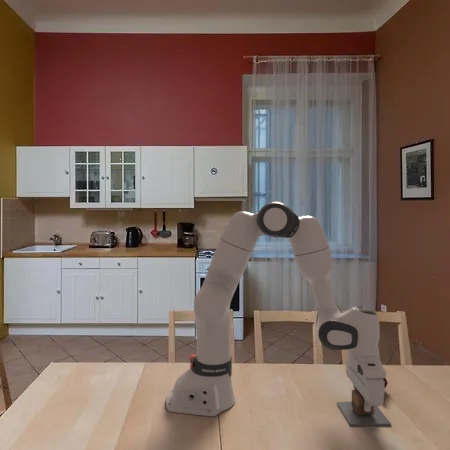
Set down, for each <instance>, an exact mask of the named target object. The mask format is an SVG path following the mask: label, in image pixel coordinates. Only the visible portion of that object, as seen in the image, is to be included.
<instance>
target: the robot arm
mask: <svg viewBox="0 0 450 450" xmlns="http://www.w3.org/2000/svg"><path fill="white" fill-rule="evenodd" d="M263 235H266V236H268V237H271V238H277V239H278V238H284V239H285V238H286V239H288V241H289V242H290V245H291V249H292V252H293V255H294V260H295V262H296V265H297V267H298V269H299V272H300V274H301V276H302V277H303V278H305V279H306V280H307V282H309V284H310V286H311V289H312V291H313V296H314V300H315V303H316V306H317V315H316V326H317V327H316V328H317V334H318V340H319V342H320V343H321V345H322V346H324V347H325V348H326V349H328V350H330V351H331V350H332V351H345V350H347V356H346V365H345V374H346V376H347V378H348V379H349V380H350V381H351V383H352V384H353V385H352V386H353V387H352V388H353V390H358V391H359V392H360V393H361V395H362V396H363V397H364V400H365V402H364V403H363V409H364V410H365V411H366V412H370V411H371V406H377V407H381V406H383V404H384V402H385V400H384V399H385V388H384V380H383V378H386V379H387V371H386V369H385V368H384V366H383V364H382V361H381V358H380V349H379V341H380V340H381V339H380V334H381V333H380V332H381V331H380V319H379V316H378V314H377V313H376V312H375V311H374V310H372V309H370V308H369V307H366V306H361V305H354V306H352V307H350V308H349V309H347V310H345V311H343V310H342V309H341V308H340V307H339V306H338V303H337V301H336V298H335V293H334V290H333V286H332V283H331V282H332V281H331V277H332V276H331V275H332V271H333V259H332V252H331V248H330V245H329V241H328V238H327V236H326V233H325V231H324V228H323V226H322V224H321V223H320V221H319V219H318V218H316V217H315V216H313V215H312V216H311V215H302V216H298V215H297V214H296V213H295V212H294V211H293V210H292V209H291V207H289V206H288V205H287V204H285V203H284V202H282V201H270V202H268V203H266V204H264V205H263V206H261V208H260V210H259V211H258V212H256V213H253V212H252V213H251V212H249V211H244V210H243V211H237V212H235V213H234V214H233V215H232V217H231V218H230V220H229V221H228V223H227V225H226V227H225V228H224V230H223V232H222V235H221V237H220V239H219V241H218V244H217V246H216V249H215V251H214V254H213V256H212V258H211V261H210V264H209V267H208V270H207V273H206V275H205V278H204V280H203V283H202V285H201V287H200V289H199V290H198V292H197V294H196V295H195V297H194V299H193V310H194V311H193V312H194V322H195V323H194V324H195V331H196V354H194V353H193V354H191V355H190V358H189V361H190V364H189V365H190V368H189V369H188V370H186V371H184V372H182V374H180V375H179V376H178V377H177V379H176V380H175V383H174V384H173V385H174V386H173V388H172V389H170V391H169V392H168V394H167V396H166V399H165V407H166V408H165V409H166V410H167V411H168V412H170V413H178V414H184V415H185V414H186V415H195V416H204V417H217V416H218V415H219V414H220V413H221V412H222V413H223V412H224V411H227V410H228V409H230V408H232V407H233V405H235V403H236V397H235V394H234V389H233V383H232V382H233V381H232V374H233V361H232V360H233V359H232V356H231V322H230V321H231V319H230V317H231V315H230V309H231V308H230V307H231V303H232V300H233V297H234V294H235V292H236V290H237V287H238V285H239V283H240V281H241V278H242V277H243V275H244V272H245V270H246V268H247V265H248V262H249V261H250V258H251V255H252V253H253V252H254V251H253V250H254V248H255V246H256V244H257V242H258V240H259V239H260V237H262V236H263Z"/></svg>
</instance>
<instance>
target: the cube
mask: <svg viewBox="0 0 450 450" xmlns="http://www.w3.org/2000/svg"><path fill="white" fill-rule="evenodd" d="M351 402H352V407H353V408H354V410H355V411H356V413H357V414H358V415H374V406H371V411H370V412H366V411H365V410H364V409H363V403H364V402H365V400H364V397H363V396H362V395H361V393H360V392H359V391H358V390H354V389H351Z"/></svg>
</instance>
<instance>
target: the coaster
mask: <svg viewBox="0 0 450 450" xmlns="http://www.w3.org/2000/svg"><path fill="white" fill-rule="evenodd" d="M336 405H337V407H338V408H339V410H340V411H341V413H342V415H343V416H344V418H345V420H346V422H347V423H348V425H349V427H356V426H357V427H365V426H366V427H367V426H368V427H376V426H377V427H378V426H379V427H380V426H386V427H391V426H392V423H391V421H389V419H388V418H387V417H386V415H385V414H384V413H383V411H382V410H381V409H380V407H379V406H374V415H358V414H357V413H356V411H355V410H354V408H353V407H352V401H336Z"/></svg>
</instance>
